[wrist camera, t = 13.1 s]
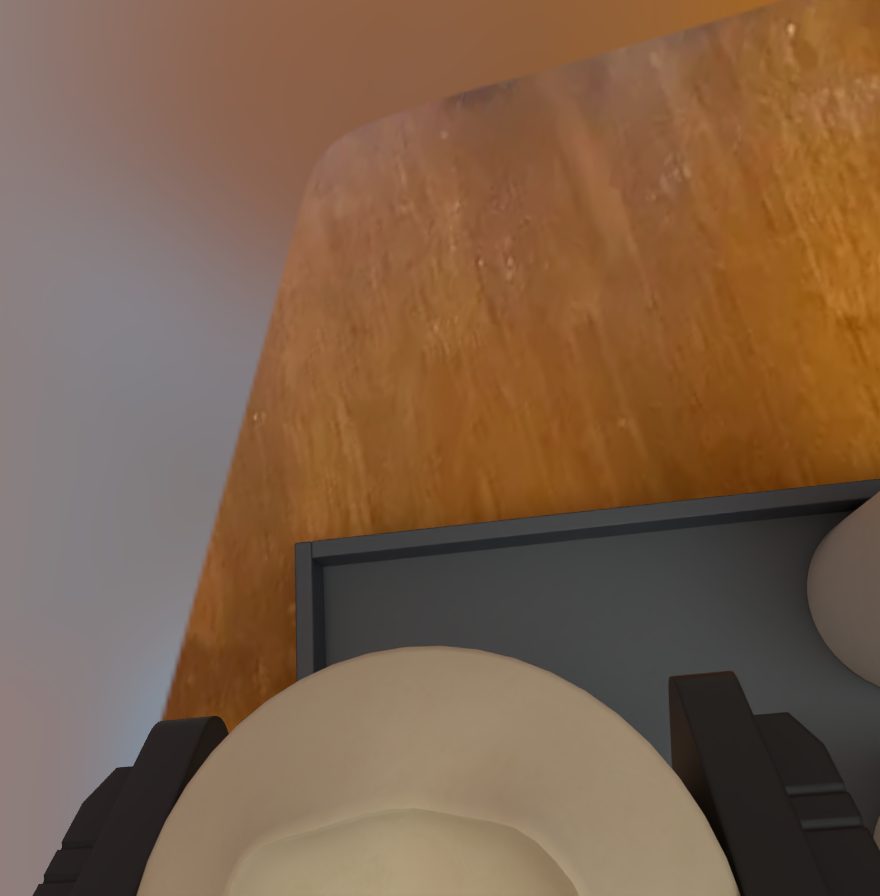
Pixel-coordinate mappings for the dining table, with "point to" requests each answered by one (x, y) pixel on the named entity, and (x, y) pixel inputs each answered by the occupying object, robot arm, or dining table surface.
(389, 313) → the dining table surface
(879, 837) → the ivory candle
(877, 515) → the ivory candle
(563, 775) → the candle
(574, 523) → the tray
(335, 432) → the dining table surface
